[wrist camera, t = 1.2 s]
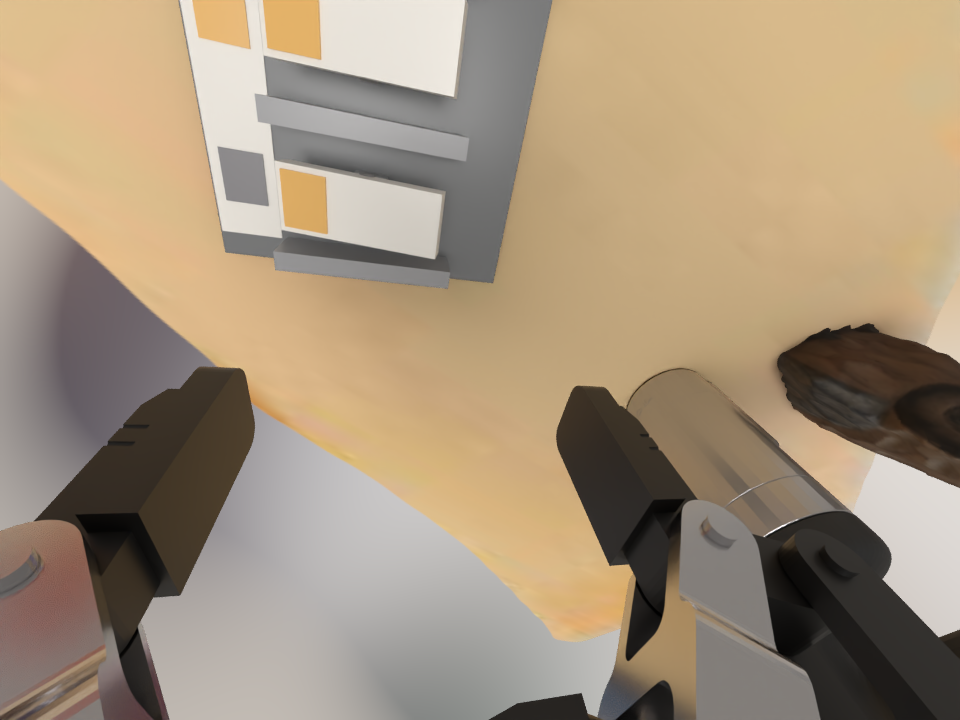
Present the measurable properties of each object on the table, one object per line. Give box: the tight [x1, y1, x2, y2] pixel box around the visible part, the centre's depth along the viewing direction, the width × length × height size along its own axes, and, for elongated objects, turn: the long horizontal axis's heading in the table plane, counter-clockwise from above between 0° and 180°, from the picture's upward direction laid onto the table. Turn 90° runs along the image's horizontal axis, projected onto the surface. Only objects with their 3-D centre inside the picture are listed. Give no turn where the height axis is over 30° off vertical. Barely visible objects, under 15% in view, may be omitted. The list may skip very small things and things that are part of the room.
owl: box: [777, 323, 960, 488], centre depth 34 cm, size 13×13×20 cm
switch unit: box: [179, 0, 552, 289], centre depth 20 cm, size 19×26×4 cm
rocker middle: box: [258, 0, 468, 99], centre depth 17 cm, size 9×4×2 cm, turn 80°
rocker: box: [274, 159, 446, 259], centre depth 21 cm, size 9×4×2 cm, turn 80°
